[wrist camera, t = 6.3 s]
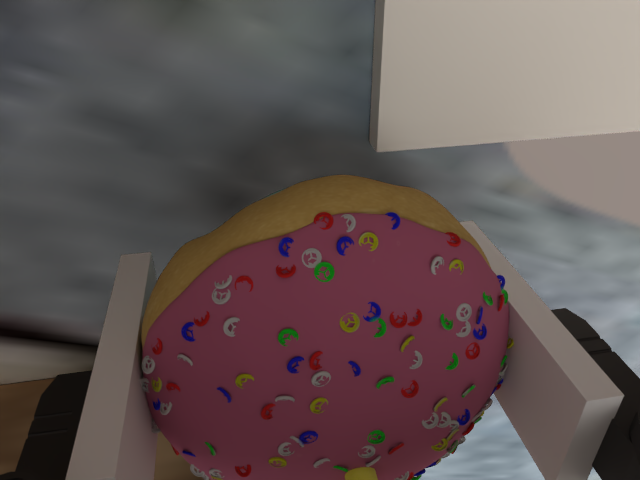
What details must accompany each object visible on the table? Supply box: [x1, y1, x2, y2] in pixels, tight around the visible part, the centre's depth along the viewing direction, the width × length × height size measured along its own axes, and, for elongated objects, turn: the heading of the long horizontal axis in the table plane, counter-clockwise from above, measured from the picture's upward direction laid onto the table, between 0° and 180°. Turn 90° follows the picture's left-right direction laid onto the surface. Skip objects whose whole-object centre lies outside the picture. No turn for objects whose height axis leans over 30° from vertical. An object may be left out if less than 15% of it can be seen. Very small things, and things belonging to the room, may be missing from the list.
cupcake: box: [140, 175, 514, 480], centre depth 11 cm, size 9×8×12 cm
